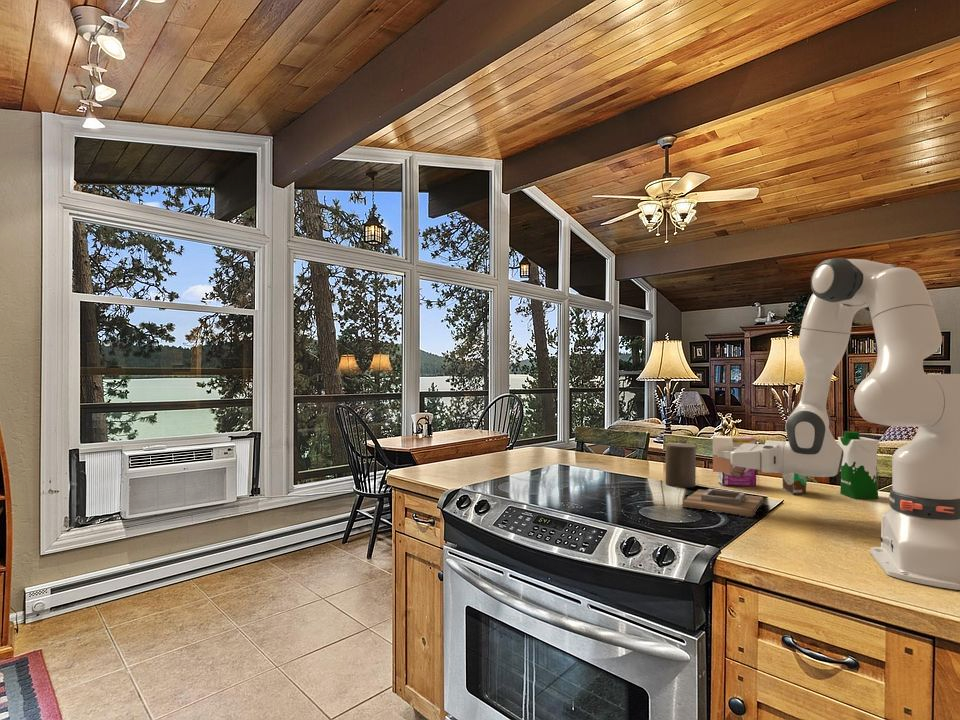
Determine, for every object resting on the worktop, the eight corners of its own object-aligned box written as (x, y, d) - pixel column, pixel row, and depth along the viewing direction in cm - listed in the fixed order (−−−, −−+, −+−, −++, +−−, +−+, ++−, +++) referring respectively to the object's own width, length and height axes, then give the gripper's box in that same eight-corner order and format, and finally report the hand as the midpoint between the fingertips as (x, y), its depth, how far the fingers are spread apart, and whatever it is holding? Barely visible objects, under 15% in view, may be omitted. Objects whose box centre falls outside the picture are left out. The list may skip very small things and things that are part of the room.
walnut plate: (752, 518, 145) (752, 505, 145) (682, 508, 155) (682, 495, 155) (762, 503, 159) (762, 492, 159) (698, 495, 170) (698, 484, 170)
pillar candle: (672, 487, 181) (672, 442, 181) (661, 481, 190) (661, 438, 190) (700, 487, 181) (701, 443, 181) (688, 481, 191) (688, 438, 191)
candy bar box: (722, 486, 183) (722, 437, 183) (717, 483, 188) (717, 435, 188) (757, 486, 181) (757, 438, 182) (751, 483, 186) (751, 436, 187)
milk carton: (835, 492, 172) (834, 430, 173) (864, 492, 172) (863, 430, 172) (853, 499, 164) (853, 433, 164) (884, 499, 163) (883, 433, 164)
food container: (816, 497, 167) (816, 464, 167) (794, 496, 169) (794, 464, 169) (801, 488, 179) (801, 457, 180) (781, 487, 181) (781, 457, 181)
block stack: (729, 473, 154) (729, 438, 154) (712, 471, 157) (712, 437, 157) (732, 470, 158) (732, 436, 158) (716, 469, 161) (716, 435, 161)
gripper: (777, 440, 158) (727, 437, 167) (767, 450, 142) (711, 445, 150) (778, 462, 158) (727, 457, 167) (767, 474, 142) (711, 468, 150)
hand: (719, 451), depth 158 cm, fingers closed on block stack, 4 cm apart
